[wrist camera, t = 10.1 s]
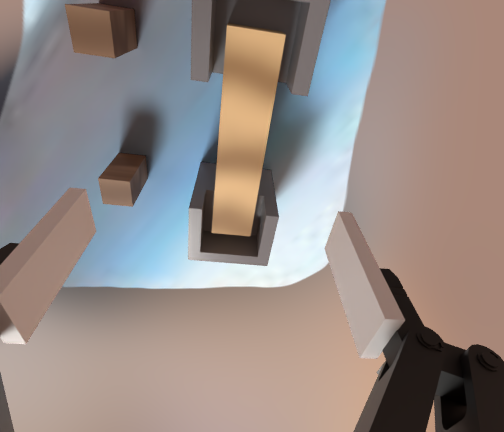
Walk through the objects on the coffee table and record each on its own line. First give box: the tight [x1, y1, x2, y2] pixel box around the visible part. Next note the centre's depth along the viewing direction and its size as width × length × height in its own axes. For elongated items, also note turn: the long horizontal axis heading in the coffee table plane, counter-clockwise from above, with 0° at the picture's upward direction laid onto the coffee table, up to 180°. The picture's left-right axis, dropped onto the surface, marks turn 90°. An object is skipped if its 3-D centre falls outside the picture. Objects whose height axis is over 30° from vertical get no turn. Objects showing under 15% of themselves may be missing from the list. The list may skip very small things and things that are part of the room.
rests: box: [65, 3, 148, 207], centre depth 28 cm, size 17×3×6 cm, turn 172°
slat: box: [212, 23, 286, 236], centre depth 26 cm, size 18×4×2 cm, turn 172°
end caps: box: [188, 0, 330, 266], centre depth 28 cm, size 24×8×10 cm, turn 172°
